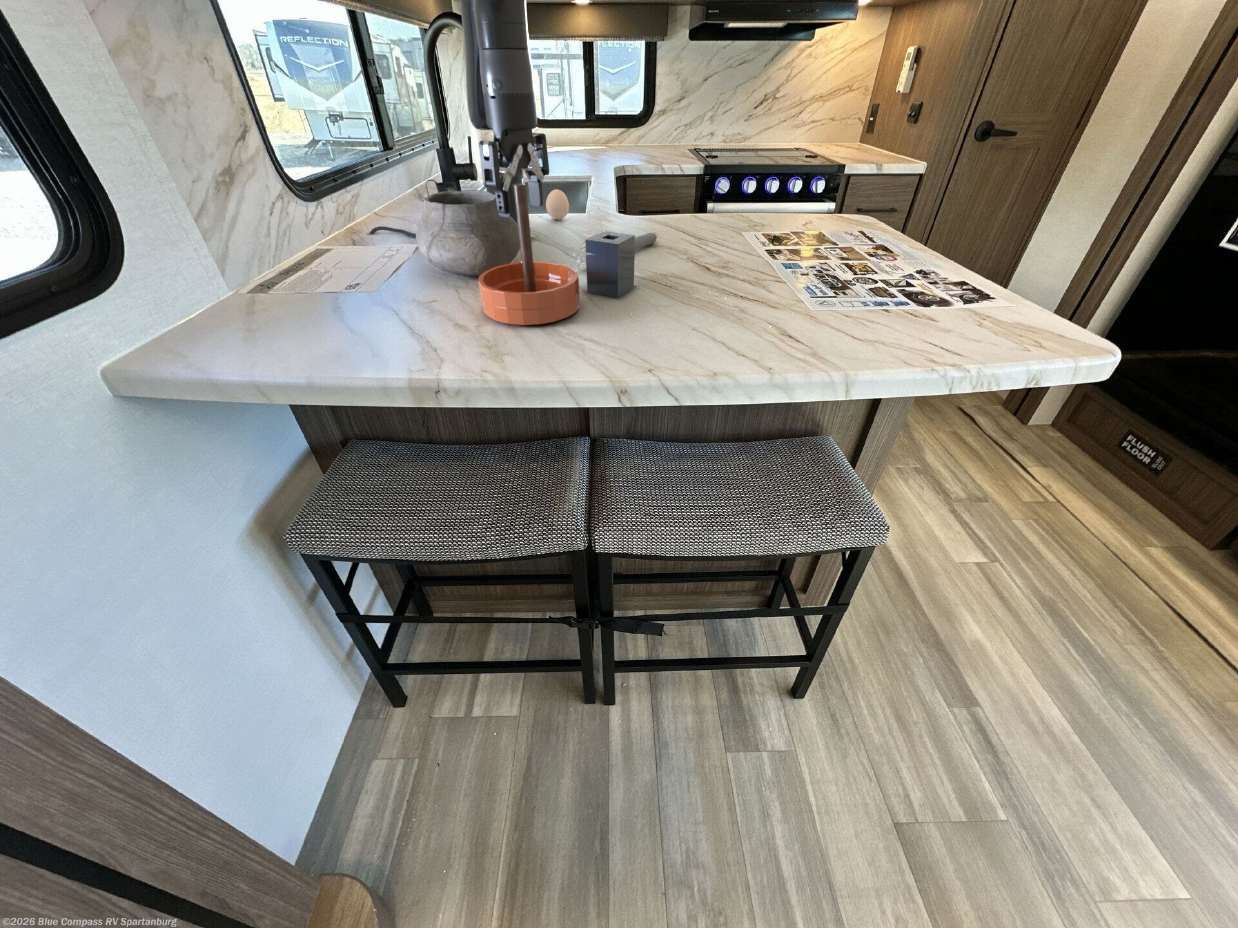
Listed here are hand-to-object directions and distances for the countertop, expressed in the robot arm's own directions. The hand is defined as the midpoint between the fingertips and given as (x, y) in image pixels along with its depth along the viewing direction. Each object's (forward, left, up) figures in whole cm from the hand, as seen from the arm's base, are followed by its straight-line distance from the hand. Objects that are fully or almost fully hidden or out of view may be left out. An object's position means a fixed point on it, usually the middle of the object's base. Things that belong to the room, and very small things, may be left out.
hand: (521, 211), depth 84 cm
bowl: (0, 0, -17) cm, 17 cm away
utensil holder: (+8, +16, -17) cm, 24 cm away
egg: (-34, +61, -17) cm, 72 cm away
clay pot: (-24, +12, -17) cm, 32 cm away
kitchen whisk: (-1, +36, -17) cm, 40 cm away
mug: (-55, +38, -17) cm, 69 cm away
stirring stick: (0, 0, -16) cm, 16 cm away
